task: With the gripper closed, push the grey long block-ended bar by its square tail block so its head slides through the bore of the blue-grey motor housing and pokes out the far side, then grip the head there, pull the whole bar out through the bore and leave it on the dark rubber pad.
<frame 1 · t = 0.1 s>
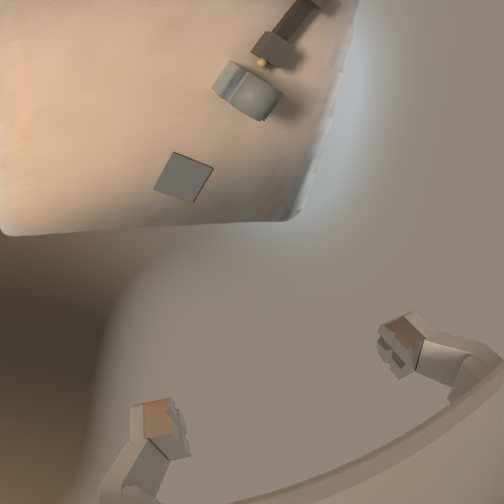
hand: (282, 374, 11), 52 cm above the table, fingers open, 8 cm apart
housing: (240, 85, 51), on the table
grey long block-ended bar: (267, 47, 47), on the table
pad: (182, 177, 61), on the table
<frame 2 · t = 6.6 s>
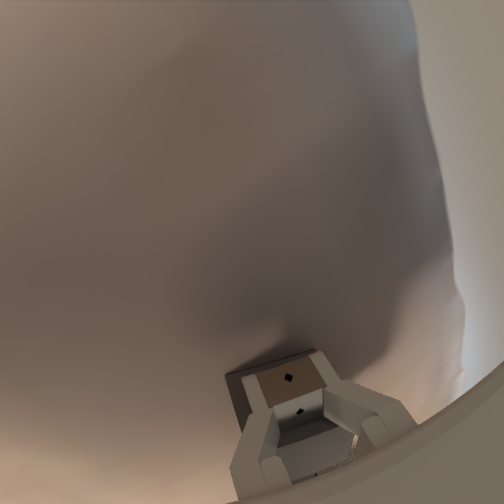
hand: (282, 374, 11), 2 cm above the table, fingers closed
grey long block-ended bar: (285, 484, 20), on the table, touching gripper
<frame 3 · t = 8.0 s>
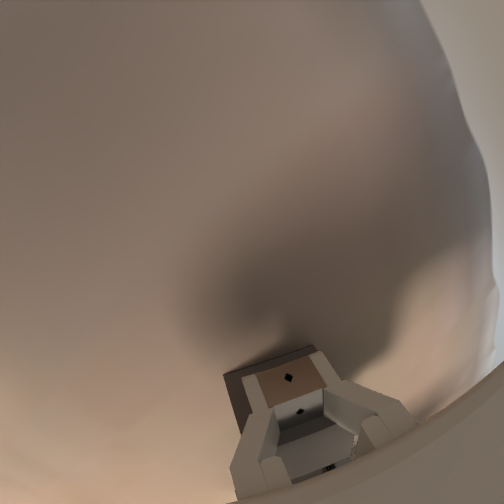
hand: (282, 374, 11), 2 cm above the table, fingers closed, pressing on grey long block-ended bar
grey long block-ended bar: (296, 480, 20), on the table, touching gripper
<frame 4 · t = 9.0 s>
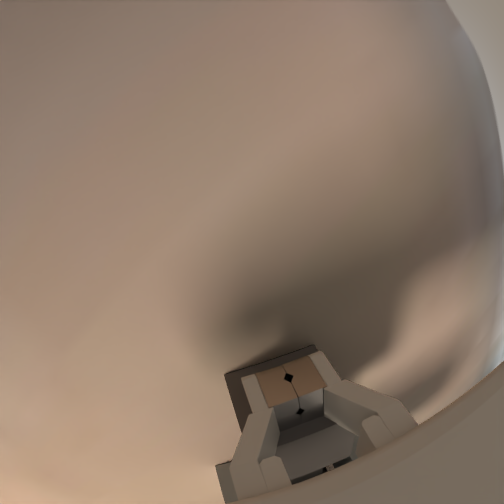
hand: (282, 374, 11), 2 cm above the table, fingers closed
housing: (288, 462, 18), on the table
grey long block-ended bar: (295, 480, 20), on the table, touching gripper
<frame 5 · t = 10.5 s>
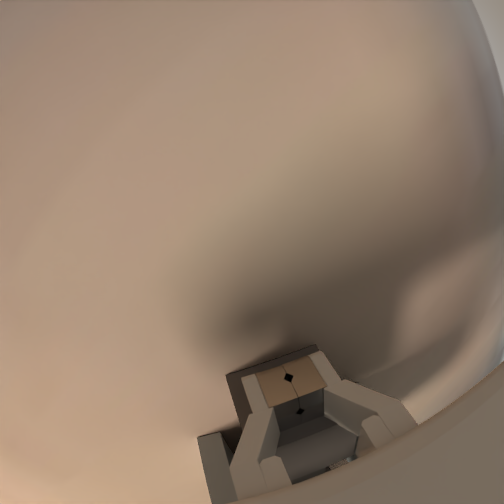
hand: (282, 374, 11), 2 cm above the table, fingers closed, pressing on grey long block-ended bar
housing: (285, 438, 16), on the table
grey long block-ended bar: (299, 479, 20), on the table, touching gripper
when the fingers open (2 cm above the table, at t = 20.7 s): grey long block-ended bar stays where it is, resting on pad.
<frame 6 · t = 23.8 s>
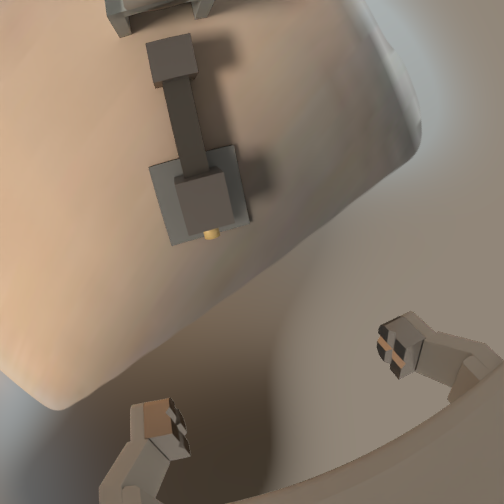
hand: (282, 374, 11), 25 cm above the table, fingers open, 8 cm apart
housing: (158, 2, 22), on the table
grey long block-ended bar: (200, 194, 32), point 1 cm above the table, touching pad
pad: (200, 195, 32), on the table
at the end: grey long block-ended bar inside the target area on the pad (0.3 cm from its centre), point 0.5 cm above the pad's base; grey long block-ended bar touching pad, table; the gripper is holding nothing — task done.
